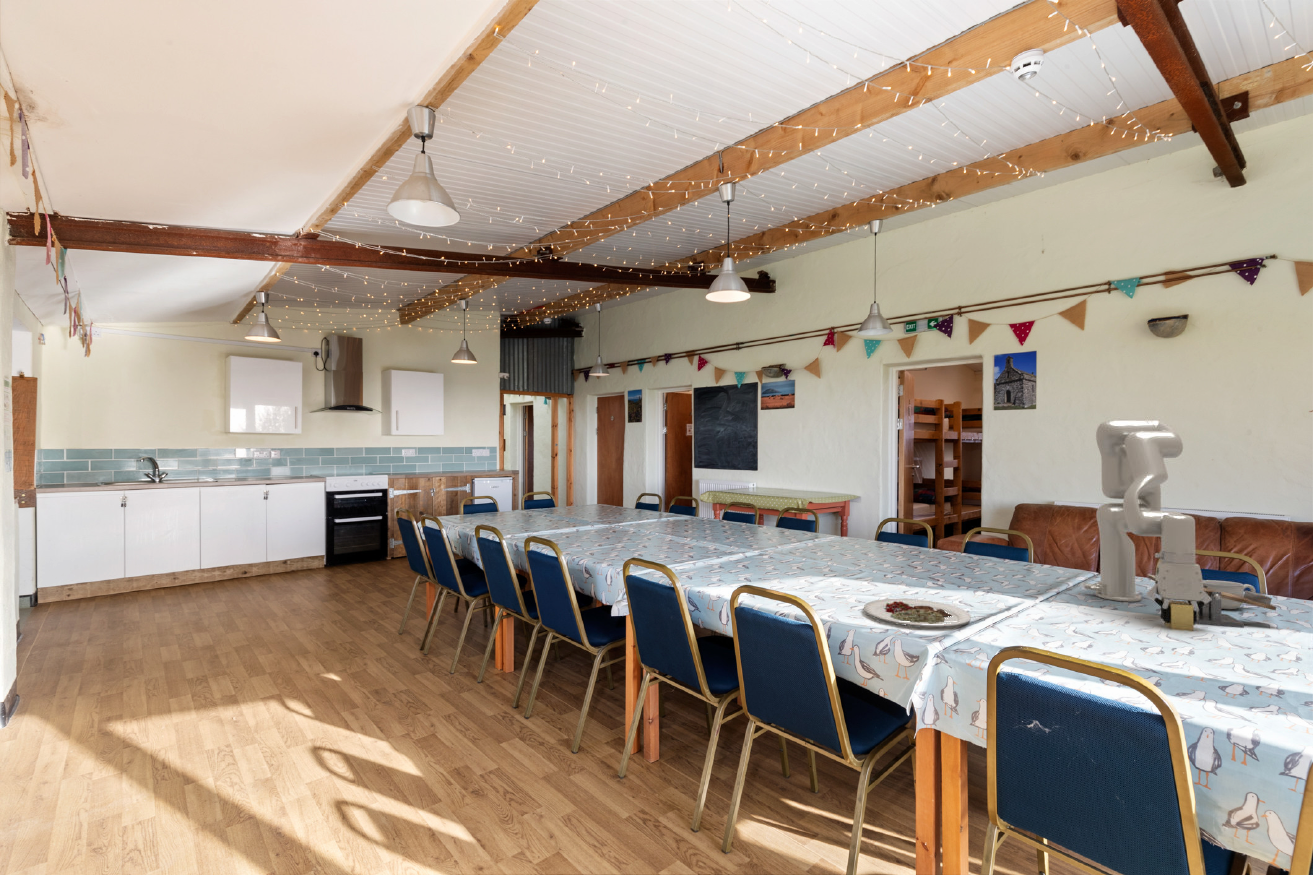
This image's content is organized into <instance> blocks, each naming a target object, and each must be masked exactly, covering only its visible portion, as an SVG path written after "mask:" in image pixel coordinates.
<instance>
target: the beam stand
mask: <svg viewBox="0 0 1313 875" xmlns="http://www.w3.org/2000/svg"><path fill="white" fill-rule="evenodd" d="M1203 587H1204V588H1207V585H1203ZM1209 596H1210V597H1211V599H1212V600H1211V601H1209V602H1208V603H1206V604H1204V605H1203V606H1202V607H1201V608H1199V610H1198V611H1197V621H1196V622H1195V625H1205V626H1206V625H1208V626H1217V627H1218V626H1219V627H1231V628H1233V627H1234V628H1242V629H1243V628H1245V625H1244V622H1242V621H1240V620H1238V619H1236V618H1235V617H1232V616H1231V615H1229V614H1226V613H1222V609H1221V599H1222V597H1221V592H1219V591H1211V595H1209Z"/></svg>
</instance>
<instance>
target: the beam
mask: <svg viewBox="0 0 1313 875" xmlns="http://www.w3.org/2000/svg"><path fill="white" fill-rule="evenodd" d="M1147 576H1148V577H1147V578H1148V579H1150V580H1151V581H1153V582H1155V578H1156V575H1154V574H1149V573H1147ZM1203 589H1204V591H1205V592H1206V593H1207V594H1208V595H1211V591H1217V590H1213V589H1208V588H1204V587H1203ZM1219 592H1221V591H1219ZM1221 597H1222V598H1224V599H1229V600H1233V601H1237V602H1241V603H1243V604H1247V605H1250V606H1256V607H1257V608H1258V607H1259V608H1264V609H1268V610H1272V611H1276V610H1277V607H1276V605H1275V606H1274V605H1273V604H1271V603H1272V599H1273V598H1271V596H1270V597H1269V596H1267V595H1265V594H1262V593H1257V592H1255V593H1254V592H1251V590H1245V589H1244V597H1243V596H1239V595H1234V594H1230V593H1226V592H1221Z"/></svg>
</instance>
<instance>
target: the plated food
mask: <svg viewBox="0 0 1313 875" xmlns="http://www.w3.org/2000/svg"><path fill="white" fill-rule="evenodd" d="M863 610H864V612H866V614H868V615H870V616H872V617H874V618H876V619H880V620H884V621H886V622H888V621H890V622H889V623H892V622H893V623H892V624H896V623H899V624H898V625H901V624H906V625H905V626H907V625H911V626H910V627H915V626H920V627H919V628H942V627H941V626H946V627H952V626H953V627H954V626H959V625H963V624H966V623H968V622H970V621H971V619H972V615H971V614H970V613H969V611H967V610H965V609H963V608H961V607H959V606H955V605H951V604H948V603H944V602H938V601H933V600H924V599H913V598H887V599H886V598H883V599H877V600H872V601H869V602H867V603H866V604H864V606H863ZM945 611H946V612H947V613H946V612H945ZM948 613H949V614H948ZM948 616H949V617H948ZM950 616H951V617H950ZM952 616H953V617H952ZM945 618H946V619H945ZM947 618H948V619H947ZM899 621H910V622H899ZM944 621H957V622H944ZM943 623H946V624H944V625H921V624H943ZM947 623H951V624H947Z"/></svg>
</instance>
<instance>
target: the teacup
mask: <svg viewBox="0 0 1313 875" xmlns="http://www.w3.org/2000/svg"><path fill="white" fill-rule="evenodd" d="M1202 580H1203V585H1207V588H1208V589H1213V590H1217V591H1221V592H1226V593H1230V594H1234V595H1239V596H1243V597H1244V594H1245V589H1246V588H1249V591H1250V592H1254V593H1256V588H1255V587H1254V586H1253V585H1251V584H1247V583H1245V584H1243V583H1240V582H1234V581H1226V580H1211V579H1207V580H1204V579H1202ZM1243 604H1244V603H1241V602H1237V601H1233V600H1229V599H1224V598H1222V599H1221V610H1236V609H1238V608H1239V607H1241V606H1243Z"/></svg>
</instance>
